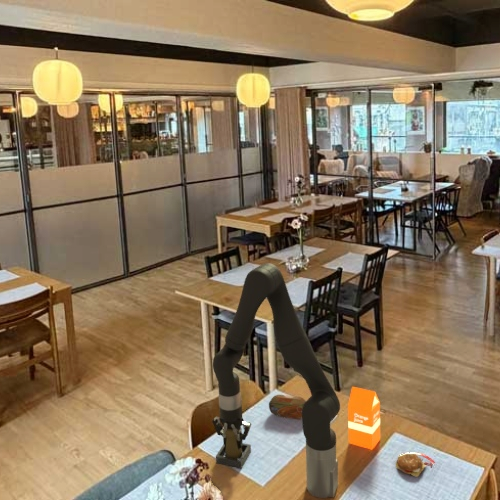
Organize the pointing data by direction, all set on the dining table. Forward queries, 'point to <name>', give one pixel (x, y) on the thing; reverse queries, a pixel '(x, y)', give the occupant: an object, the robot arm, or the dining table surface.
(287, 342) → the robot arm
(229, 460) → the steel collar
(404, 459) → the hamburger
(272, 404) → the tin
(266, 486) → the dining table surface
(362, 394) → the orange juice
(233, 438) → the cork
